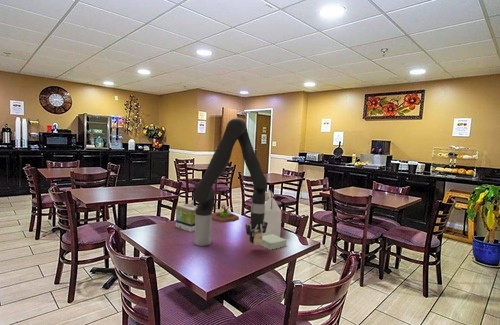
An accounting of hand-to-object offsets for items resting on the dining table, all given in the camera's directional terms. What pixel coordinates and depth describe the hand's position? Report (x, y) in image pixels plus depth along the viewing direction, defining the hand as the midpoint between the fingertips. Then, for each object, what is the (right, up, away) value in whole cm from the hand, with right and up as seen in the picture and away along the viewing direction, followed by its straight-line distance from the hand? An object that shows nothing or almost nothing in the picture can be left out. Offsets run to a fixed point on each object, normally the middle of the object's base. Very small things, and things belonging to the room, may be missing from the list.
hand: (255, 241), depth 158 cm
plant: (-23, 0, +62) cm, 66 cm away
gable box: (+9, -4, +34) cm, 35 cm away
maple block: (0, -1, 0) cm, 1 cm away
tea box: (-44, -1, +34) cm, 56 cm away
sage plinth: (+9, -5, +11) cm, 15 cm away
